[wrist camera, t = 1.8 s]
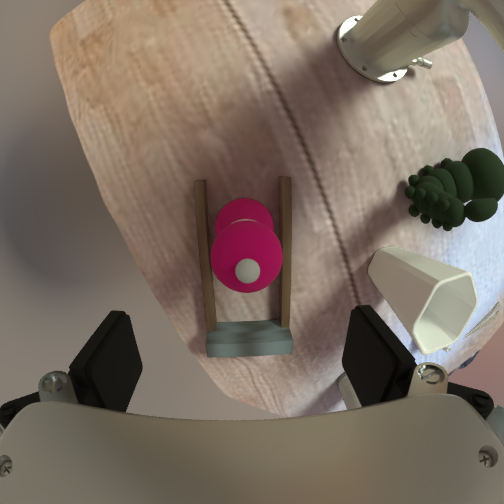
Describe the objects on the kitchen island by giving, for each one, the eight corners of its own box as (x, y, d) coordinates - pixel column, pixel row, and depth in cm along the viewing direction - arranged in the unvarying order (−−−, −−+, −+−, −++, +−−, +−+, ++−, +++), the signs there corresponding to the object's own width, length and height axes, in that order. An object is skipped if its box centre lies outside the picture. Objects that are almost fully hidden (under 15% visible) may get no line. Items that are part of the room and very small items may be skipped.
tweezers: (497, 299, 46) (501, 303, 45) (496, 312, 48) (500, 316, 46) (451, 334, 49) (455, 339, 47) (450, 346, 51) (454, 351, 49)
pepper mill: (245, 256, 39) (250, 336, 20) (207, 222, 38) (175, 278, 19) (280, 219, 38) (320, 271, 19) (242, 184, 36) (244, 200, 17)
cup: (419, 270, 42) (481, 315, 25) (377, 307, 43) (428, 366, 27) (394, 221, 39) (466, 254, 22) (347, 261, 40) (403, 315, 24)
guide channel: (287, 176, 36) (296, 178, 31) (286, 331, 44) (292, 353, 38) (196, 180, 36) (189, 182, 30) (210, 334, 43) (207, 357, 37)
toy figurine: (394, 223, 41) (488, 187, 37) (462, 265, 23) (556, 208, 19) (381, 168, 38) (480, 141, 34) (454, 179, 20) (551, 147, 16)
